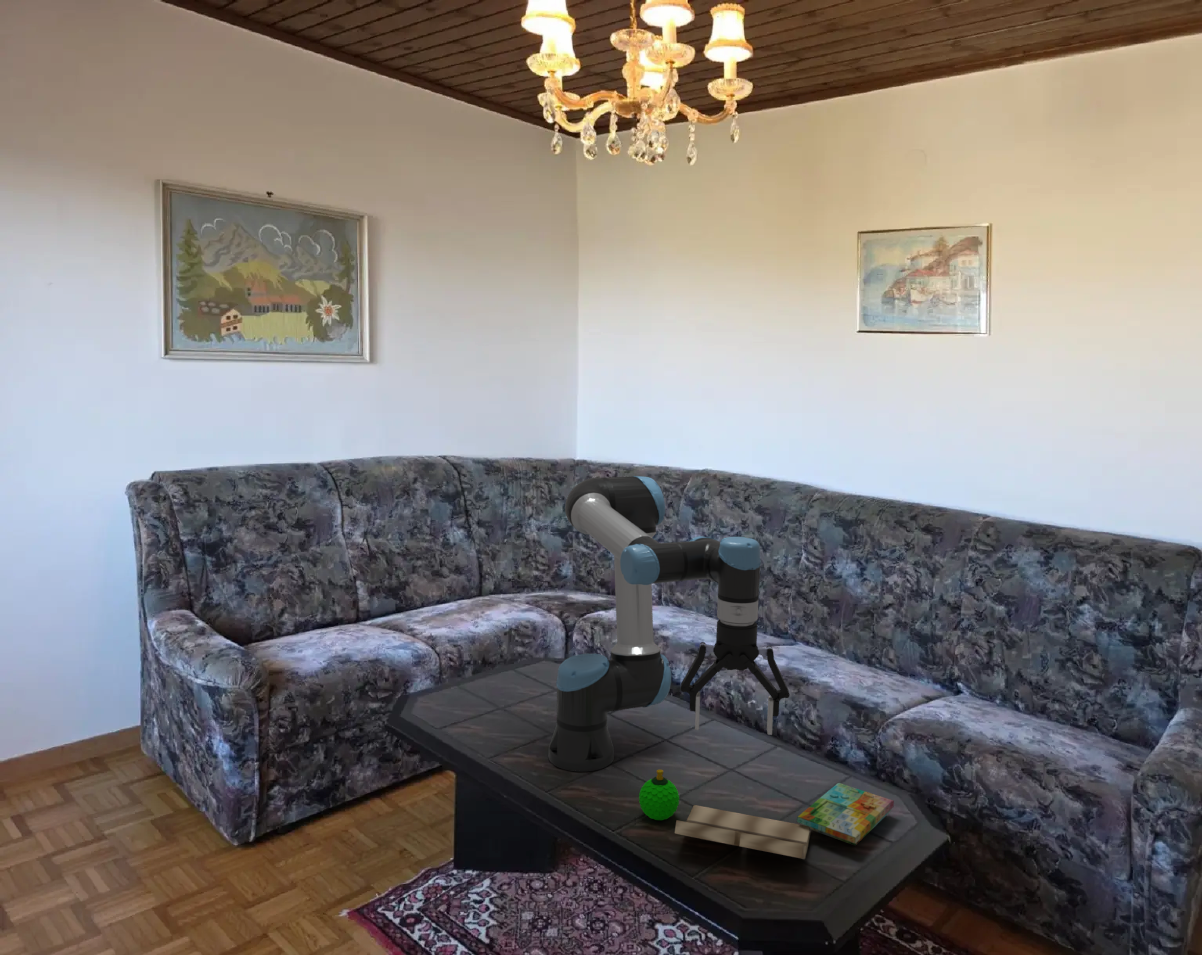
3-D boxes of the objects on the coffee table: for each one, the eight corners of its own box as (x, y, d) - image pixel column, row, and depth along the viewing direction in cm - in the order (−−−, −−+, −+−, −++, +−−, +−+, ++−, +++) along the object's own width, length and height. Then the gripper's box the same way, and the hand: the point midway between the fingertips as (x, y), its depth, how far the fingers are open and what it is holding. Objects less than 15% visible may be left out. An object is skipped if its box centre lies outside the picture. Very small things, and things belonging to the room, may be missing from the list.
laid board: (685, 833, 172) (686, 821, 172) (693, 815, 179) (694, 804, 178) (805, 856, 165) (806, 844, 164) (809, 837, 171) (810, 825, 171)
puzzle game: (894, 796, 179) (855, 832, 164) (892, 818, 180) (853, 856, 164) (839, 778, 186) (797, 812, 171) (838, 799, 187) (795, 835, 171)
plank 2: (739, 845, 159) (740, 832, 160) (745, 847, 167) (747, 834, 168) (801, 858, 156) (802, 844, 156) (804, 858, 163) (806, 845, 164)
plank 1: (674, 833, 163) (676, 819, 164) (683, 835, 171) (685, 822, 172) (733, 844, 159) (735, 831, 160) (740, 846, 167) (741, 833, 168)
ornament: (638, 807, 182) (639, 761, 181) (677, 808, 182) (679, 762, 180) (638, 827, 174) (639, 779, 173) (679, 829, 174) (681, 781, 172)
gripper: (669, 622, 163) (666, 732, 165) (807, 629, 160) (802, 741, 162) (671, 611, 170) (668, 717, 173) (803, 618, 167) (797, 725, 170)
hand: (733, 729), depth 167 cm, fingers open, 13 cm apart
